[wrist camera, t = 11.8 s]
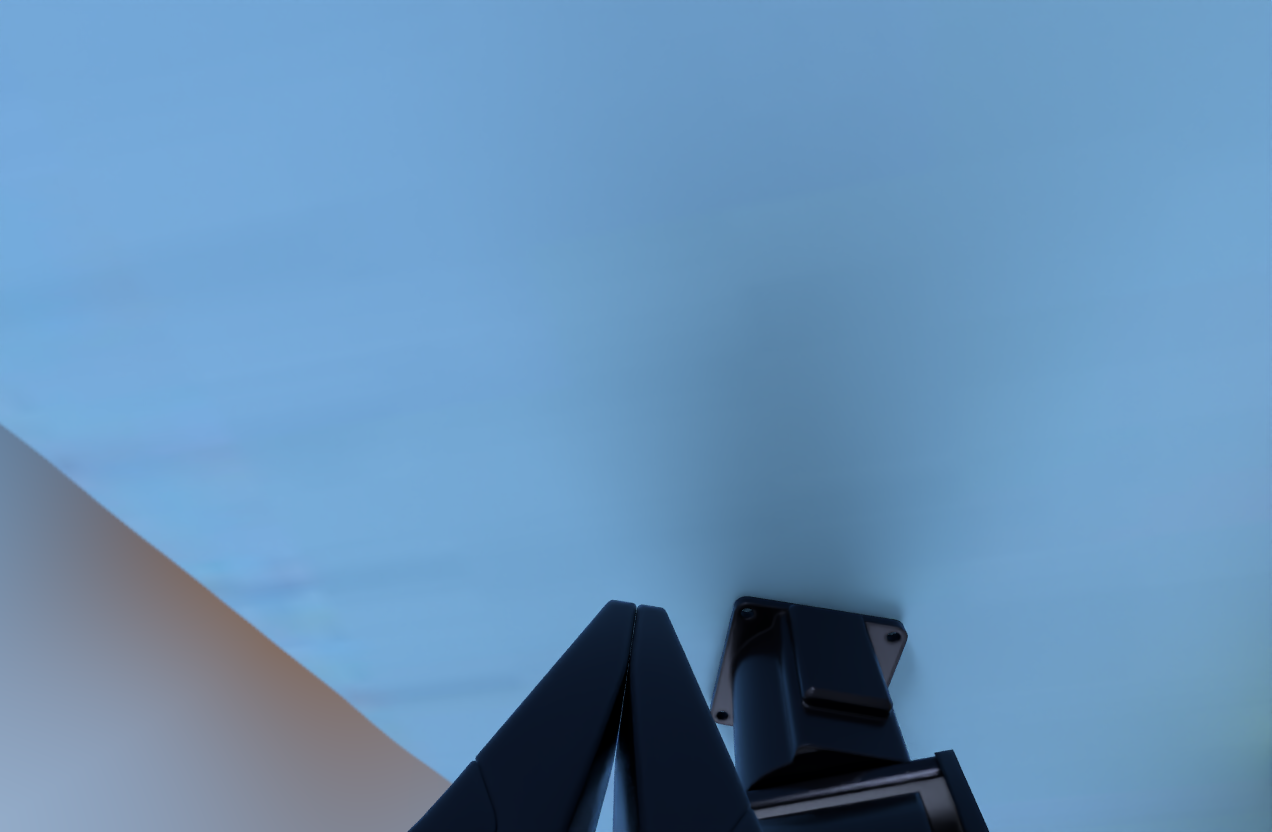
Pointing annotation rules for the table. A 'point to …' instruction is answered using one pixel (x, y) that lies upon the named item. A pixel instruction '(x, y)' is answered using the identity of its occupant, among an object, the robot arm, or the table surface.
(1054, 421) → the table surface
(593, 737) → the robot arm
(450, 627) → the table surface
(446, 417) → the table surface
